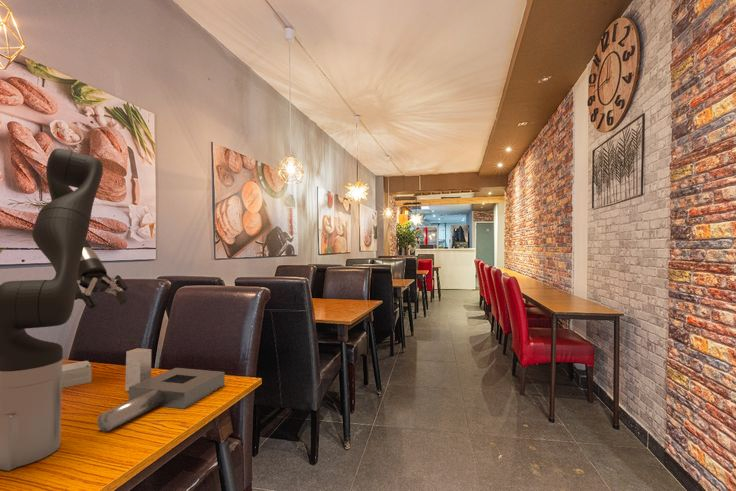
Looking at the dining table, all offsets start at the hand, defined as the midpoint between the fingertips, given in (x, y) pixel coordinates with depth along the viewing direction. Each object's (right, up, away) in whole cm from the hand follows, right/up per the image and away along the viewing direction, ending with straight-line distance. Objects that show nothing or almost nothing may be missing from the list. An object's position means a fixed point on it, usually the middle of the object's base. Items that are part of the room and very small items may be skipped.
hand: (109, 305), depth 102 cm
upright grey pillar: (+12, -23, -5) cm, 26 cm away
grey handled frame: (+24, -23, -15) cm, 36 cm away
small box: (-11, -24, 0) cm, 26 cm away
